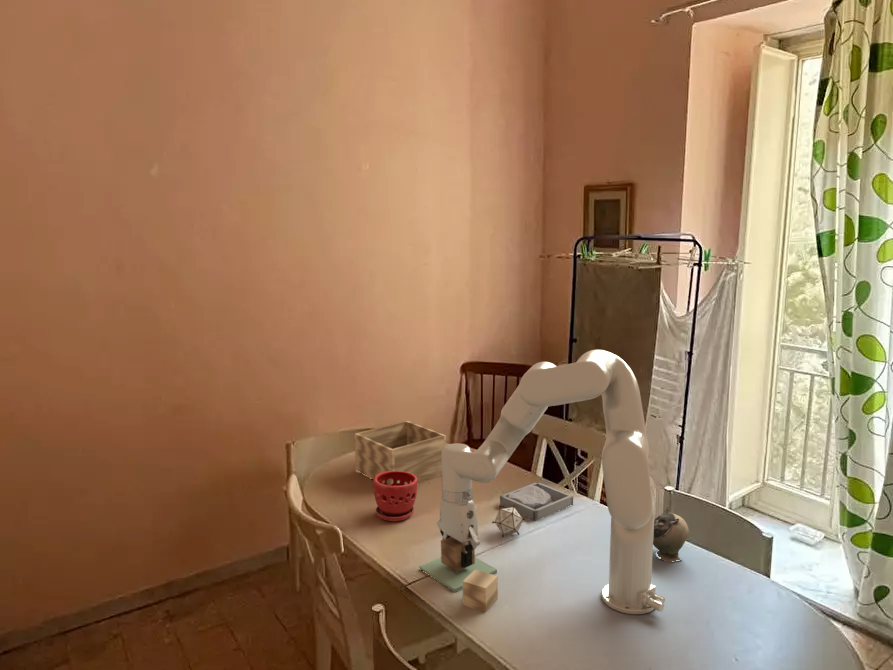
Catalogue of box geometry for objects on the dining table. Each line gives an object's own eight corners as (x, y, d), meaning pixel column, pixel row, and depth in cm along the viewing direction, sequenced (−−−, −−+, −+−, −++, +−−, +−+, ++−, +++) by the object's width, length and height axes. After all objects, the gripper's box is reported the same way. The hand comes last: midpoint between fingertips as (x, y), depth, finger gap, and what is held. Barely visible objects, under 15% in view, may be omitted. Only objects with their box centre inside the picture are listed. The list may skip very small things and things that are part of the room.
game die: (513, 548, 189) (523, 531, 182) (485, 536, 190) (494, 518, 183) (522, 522, 195) (531, 505, 188) (495, 510, 196) (503, 492, 189)
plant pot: (392, 529, 193) (391, 489, 191) (366, 514, 203) (364, 477, 201) (426, 515, 202) (426, 477, 200) (400, 502, 212) (399, 466, 209)
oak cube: (497, 599, 157) (497, 576, 156) (485, 612, 152) (485, 588, 151) (475, 592, 160) (475, 569, 159) (462, 605, 155) (462, 581, 154)
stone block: (553, 508, 210) (530, 493, 217) (555, 495, 208) (532, 480, 215) (527, 521, 202) (504, 504, 209) (529, 508, 201) (506, 491, 208)
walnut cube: (474, 563, 169) (474, 541, 168) (456, 571, 165) (456, 549, 164) (459, 554, 174) (459, 533, 173) (441, 562, 170) (441, 540, 169)
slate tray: (573, 505, 208) (573, 495, 207) (535, 521, 197) (535, 511, 196) (537, 490, 219) (537, 481, 218) (499, 504, 208) (499, 495, 208)
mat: (496, 572, 169) (496, 569, 169) (454, 592, 160) (454, 589, 160) (460, 551, 180) (460, 548, 179) (419, 569, 171) (419, 566, 171)
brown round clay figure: (639, 551, 179) (666, 568, 170) (640, 509, 177) (667, 524, 168) (668, 543, 183) (696, 560, 173) (669, 502, 181) (698, 516, 172)
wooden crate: (446, 473, 235) (446, 435, 232) (392, 490, 220) (391, 450, 218) (408, 456, 252) (407, 420, 250) (355, 471, 238) (354, 433, 235)
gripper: (492, 500, 162) (492, 569, 165) (446, 479, 175) (447, 543, 178) (468, 509, 157) (469, 579, 160) (424, 487, 170) (425, 552, 174)
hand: (458, 560), depth 169 cm, fingers closed on walnut cube, 6 cm apart
